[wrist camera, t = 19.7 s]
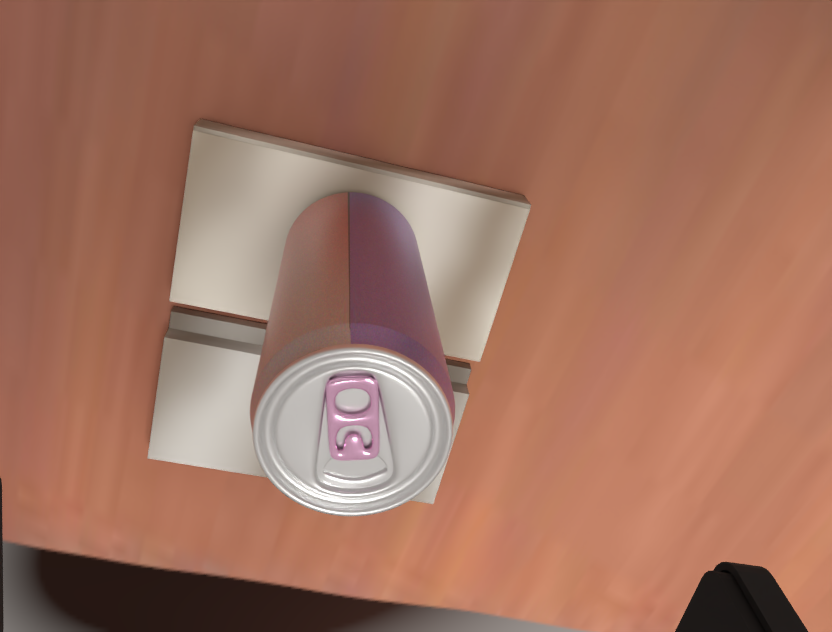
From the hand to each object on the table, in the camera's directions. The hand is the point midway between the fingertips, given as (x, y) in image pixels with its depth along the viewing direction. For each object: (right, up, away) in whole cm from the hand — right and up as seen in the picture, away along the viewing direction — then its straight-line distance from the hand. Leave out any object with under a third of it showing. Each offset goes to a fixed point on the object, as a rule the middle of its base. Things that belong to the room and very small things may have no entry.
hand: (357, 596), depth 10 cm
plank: (-2, +7, +26) cm, 27 cm away
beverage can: (-2, +7, +25) cm, 26 cm away
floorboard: (-5, -1, +30) cm, 30 cm away
